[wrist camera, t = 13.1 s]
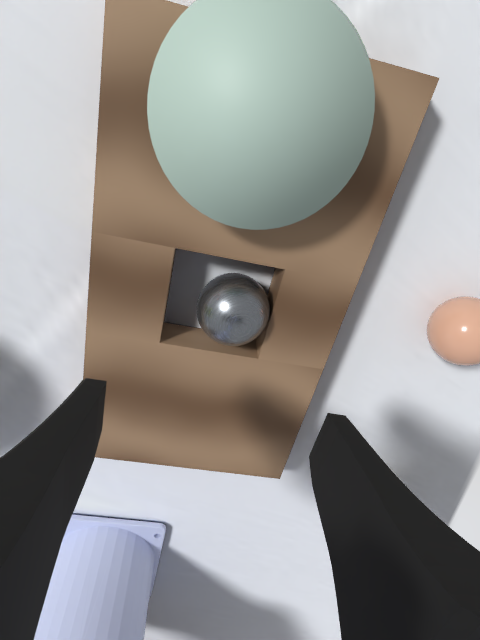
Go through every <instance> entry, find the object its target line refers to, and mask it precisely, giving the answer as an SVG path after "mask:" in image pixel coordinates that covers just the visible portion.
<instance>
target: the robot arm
mask: <svg viewBox="0 0 480 640" xmlns="http://www.w3.org/2000/svg"><path fill="white" fill-rule="evenodd" d="M106 384H107V381H103V380H96V379H90V378H86V379H84V380H82V382H81V383H80V384H79V385H78V386H77V388H76V389H75V390H74V391H73V392H72V393H71V394H70V395H69V397H68V398H67V399H66V400H65V401H64V402H63V403H62V404H61V405H60V406H59V407H58V408H57V409H56V410H55V411H54V412H53V413H52V414H51V415H50V416H49V417H48V418H47V419H46V420H45V421H44V422H43V423H42V424H41V425H39V426H38V427H37V428H36V429H35V430H34V431H33V432H31V433H30V434H29V435H28V436H27V437H26V438H25V439H23V440H22V441H21V442H20V443H19V444H17V445H16V446H15V447H14V448H13V449H11V450H10V451H9V452H7V453H6V454H5V455H4V456H2V457H1V458H0V640H144V634H145V626H146V618H147V610H148V602H149V597H151V594H152V590H153V585H154V581H155V577H156V572H157V568H158V563H159V559H160V555H161V550H162V546H163V541H164V537H165V533H166V526H165V525H164V524H162V523H155V522H145V521H135V520H124V519H114V518H104V517H93V516H83V515H72V514H73V511H74V509H75V506H76V504H77V501H78V499H79V496H80V494H81V491H82V489H83V486H84V484H85V481H86V479H87V476H88V474H89V471H90V469H91V466H92V464H93V461H94V458H95V454H96V451H97V447H98V443H99V440H100V436H101V432H102V426H103V415H104V405H105V394H106ZM309 459H310V469H311V478H312V486H313V490H314V494H315V498H316V503H317V507H318V511H319V515H320V519H321V523H322V527H323V531H324V535H325V538H326V542H327V546H328V550H329V555H330V560H331V564H332V570H333V577H334V584H335V590H336V597H337V605H338V613H339V621H340V629H341V638H342V640H480V551H478V550H477V549H476V548H474V547H473V546H472V545H470V544H469V543H467V541H465V540H464V539H463V538H461V537H460V536H459V535H458V534H457V533H456V532H454V531H453V530H452V529H451V528H450V527H448V526H447V525H446V524H445V523H444V522H443V521H441V520H440V519H439V518H438V517H437V516H436V515H435V514H434V513H433V512H432V511H430V510H429V509H428V508H427V507H426V506H425V505H424V504H423V503H422V502H421V501H420V500H419V499H418V498H417V497H416V496H415V495H414V494H413V493H412V492H411V491H410V490H409V489H408V488H407V487H406V486H405V485H404V484H403V483H402V482H401V481H400V480H399V478H398V477H397V476H396V475H395V474H394V473H393V472H392V471H391V470H390V468H389V467H388V466H387V465H386V464H385V463H384V462H383V460H382V459H381V458H380V457H379V456H378V455H377V453H376V452H375V451H374V450H373V449H372V447H371V446H370V445H369V444H368V442H367V441H366V440H365V439H364V438H363V436H362V435H361V434H360V433H359V431H358V430H357V429H356V428H355V427H354V425H353V424H352V423H351V422H350V421H349V420H348V418H347V417H346V416H344V415H337V414H330V413H328V414H327V416H326V419H325V421H324V423H323V426H322V428H321V430H320V432H319V435H318V437H317V439H316V442H315V444H314V446H313V449H312V451H311V453H310V456H309Z"/></svg>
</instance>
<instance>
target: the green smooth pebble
mask: <svg viewBox="0 0 480 640" xmlns="http://www.w3.org/2000/svg"><path fill="white" fill-rule="evenodd" d="M374 112H375V89H374V78H373V74H372V69H371V64H370V60H369V58H368V55H367V52H366V49H365V46H364V44H363V42H362V40H361V38H360V36H359V34H358V32H357V30H356V29H355V27H354V26H353V24H352V23H351V22H350V20H349V19H348V17H347V16H346V15H345V14H344V13H343V12H342V11H341V9H340V8H339V7H338V6H337V5H336V4H335V3H334V2H332V1H331V0H196V1H195V2H193V3H192V4H191V5H190V6H189V7H188V8H187V9H186V10H185V11H184V12H183V13H182V14H181V15H180V17H179V18H178V19H177V21H176V22H175V23H174V24H173V26H172V27H171V28H170V30H169V32H168V33H167V35H166V37H165V39H164V40H163V42H162V44H161V46H160V49H159V51H158V53H157V56H156V58H155V61H154V65H153V68H152V72H151V75H150V81H149V88H148V95H147V116H148V126H149V132H150V136H151V141H152V145H153V148H154V151H155V154H156V157H157V159H158V161H159V163H160V165H161V167H162V170H163V172H164V173H165V175H166V176H167V178H168V180H169V181H170V183H171V184H172V186H173V187H174V188H175V189H176V190H177V192H178V193H179V194H180V195H181V196H182V197H183V198H184V199H185V200H186V201H187V202H188V203H189V204H190V205H191V206H193V207H194V208H195V209H197V210H198V211H199V212H201V213H202V214H204V215H206V216H208V217H209V218H211V219H213V220H215V221H218V222H220V223H223V224H225V225H229V226H232V227H236V228H242V229H250V230H266V229H274V228H280V227H283V226H287V225H291V224H293V223H296V222H298V221H301V220H303V219H305V218H307V217H309V216H310V215H312V214H314V213H316V212H317V211H319V210H320V209H321V208H323V207H324V206H325V205H327V204H328V203H329V202H330V201H331V200H332V199H333V198H334V197H335V196H337V195H338V193H339V192H340V191H341V190H342V189H343V188H344V186H345V185H346V184H347V183H348V181H349V180H350V178H351V177H352V175H353V174H354V172H355V171H356V169H357V167H358V165H359V163H360V161H361V159H362V157H363V155H364V152H365V150H366V147H367V145H368V141H369V138H370V134H371V130H372V125H373V118H374Z"/></svg>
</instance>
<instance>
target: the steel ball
mask: <svg viewBox="0 0 480 640" xmlns="http://www.w3.org/2000/svg"><path fill="white" fill-rule="evenodd" d="M269 313H270V305H269V300H268V297H267V294H266V292H265V291H264V289H263V288H262V286H261V285H260V284H259V283H258V282H257V281H255V280H254V279H253V278H251V277H249V276H247V275H244V274H240V273H227V274H223V275H220V276H217V277H216V278H214V279H212V280H211V281H210V282H209V283H208V284H207V285H206V286H205V287H204V288H203V290H202V291H201V293H200V295H199V298H198V301H197V317H198V321H199V324H200V326H201V328H202V329H203V331H204V332H205V333H206V334H207V335H208V336H209V337H210V338H211V339H212V340H214V341H216V342H217V343H220V344H222V345H227V346H240V345H244V344H247V343H249V342H251V341H253V340H254V339H256V338H257V337H258V336H259V335H260V334H261V333H262V331H263V330H264V329H265V327H266V325H267V322H268V319H269Z"/></svg>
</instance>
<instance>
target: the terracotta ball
mask: <svg viewBox="0 0 480 640" xmlns="http://www.w3.org/2000/svg"><path fill="white" fill-rule="evenodd" d="M427 336H428V340H429V343H430V345H431V347H432V348H433V350H434V351H435V352H436V353H437V354H438V355H439V356H440V357H441V358H443V359H444V360H446V361H448V362H450V363H453V364H457V365H475V364H479V363H480V299H478V298H474V297H457V298H453V299H450V300H448V301H445V302H444V303H442V304H441V305H439V306H438V307H437V308H436V309H435V310H434V312H433V313H432V314H431V316H430V318H429V321H428V325H427Z"/></svg>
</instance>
